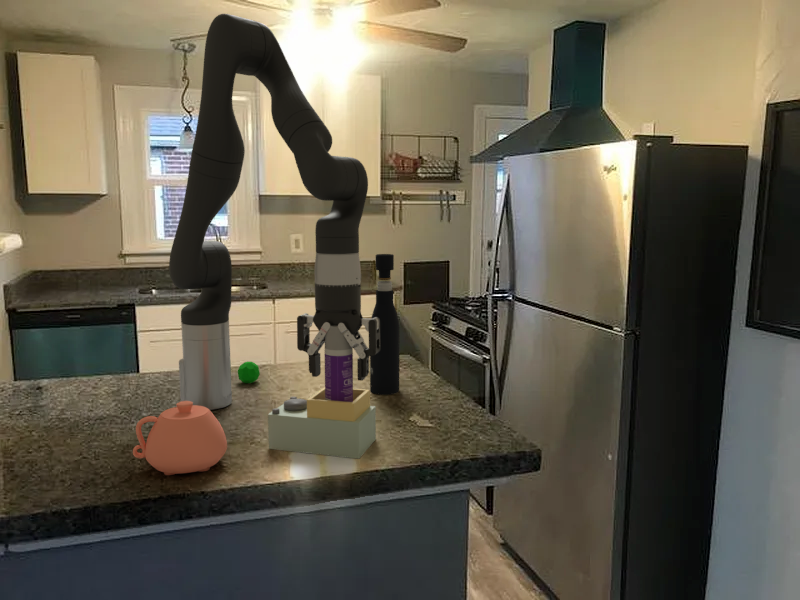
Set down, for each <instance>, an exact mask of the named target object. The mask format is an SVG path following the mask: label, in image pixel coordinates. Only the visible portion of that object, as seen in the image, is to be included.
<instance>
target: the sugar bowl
mask: <svg viewBox="0 0 800 600" xmlns="http://www.w3.org/2000/svg"><path fill="white" fill-rule="evenodd" d="M149 422H151V423H153V422H154V423H153V425H152V428H151V429H150V431H149V433H148V435H147V439H146V441H145V439H144V436H143V432H142V427H143V425H144V424H145V423H149ZM135 433H136V437H137V440H138V442H139V444H138V445H135V446H134V447H133V449H132V454H133V456H134V457H135V458H136V459H145V460H146V461H147V463H148V464H149V465H151V466H152V467H153V468H154V469H155V470H157V471H158V472H162V473H163V474H164V475H165V476H174V475H175V474H176V475H177V474H189V473H196V472H199V473H200V472H207V471H210V469H211V467H213V466H215V465H216V464H217V463H219V461H220V460H221V459H222V458H223V457H224V456H225V454H226V451H227V449H228V442H227V436H226V433H225V431H224V428H223V426H222V425H221V423H220V421H219V420H218V419H217V417H216V416H215V415H214V414H213V412H212V411H211V410H209V409H208V408H206V407H204V406H198V405H193V402H191V401H181V400H180V401H179V402H177V403H176V406H175V407H174V406H173V407H170V408H168V409H166V410H163V411H162V412H161V413H160V414H159V415H158V417H157V416H154V415H148V416H145V417H143V418H141V419H139V421H137V422H136V426H135ZM139 449H141V452H138V450H139Z"/></svg>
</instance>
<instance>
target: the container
mask: <svg viewBox="0 0 800 600" xmlns="http://www.w3.org/2000/svg"><path fill="white" fill-rule="evenodd" d="M353 350H354V348H352V347H351V346H350V344H349V343H348V341H347V340H346V338H345V337H344V335H343V334H342V333H341V331H340V330H339V328H338V326H337V325H331V326H330V328H329V330H328V332H327V333H326V336H325V343H324V387H325V400H331V401H342V402H353V388H354V386H353V385H354V360H353V359H354V358H353V357H354V353H353Z"/></svg>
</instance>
